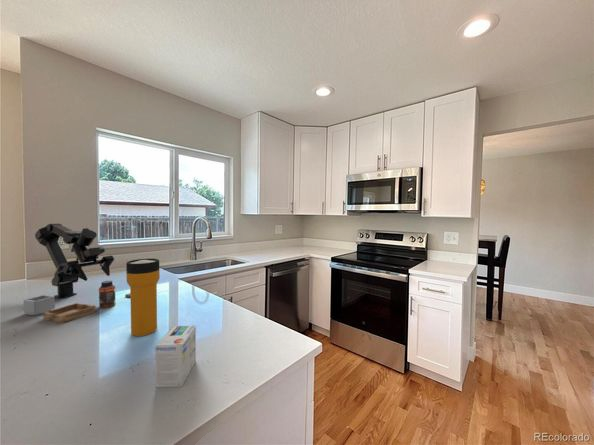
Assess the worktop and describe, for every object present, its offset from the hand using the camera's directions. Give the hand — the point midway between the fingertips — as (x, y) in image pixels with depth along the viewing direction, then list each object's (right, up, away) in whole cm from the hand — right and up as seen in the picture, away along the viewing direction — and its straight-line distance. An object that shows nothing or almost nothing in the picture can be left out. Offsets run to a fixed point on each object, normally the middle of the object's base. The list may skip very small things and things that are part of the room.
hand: (98, 277), depth 115 cm
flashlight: (+37, -14, -26) cm, 47 cm away
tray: (-1, -13, -12) cm, 18 cm away
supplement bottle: (+6, -13, -2) cm, 14 cm away
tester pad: (+10, -12, +11) cm, 19 cm away
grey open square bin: (-17, -12, -9) cm, 23 cm away
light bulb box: (+60, -15, -49) cm, 79 cm away
